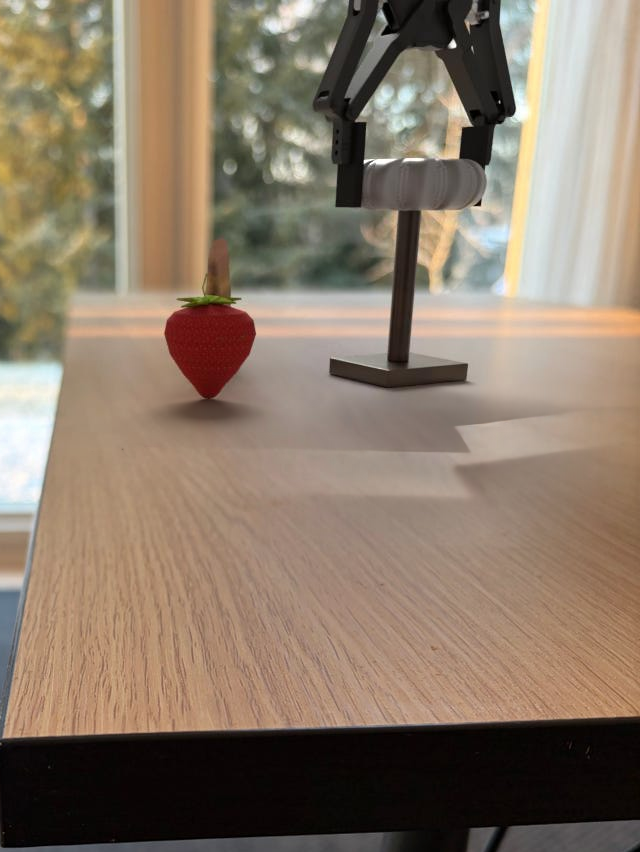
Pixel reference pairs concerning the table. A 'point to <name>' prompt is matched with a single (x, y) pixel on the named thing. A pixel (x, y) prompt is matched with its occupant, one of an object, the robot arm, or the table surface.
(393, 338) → the stand
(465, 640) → the table surface
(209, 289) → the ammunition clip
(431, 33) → the robot arm
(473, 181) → the ring
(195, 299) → the strawberry
